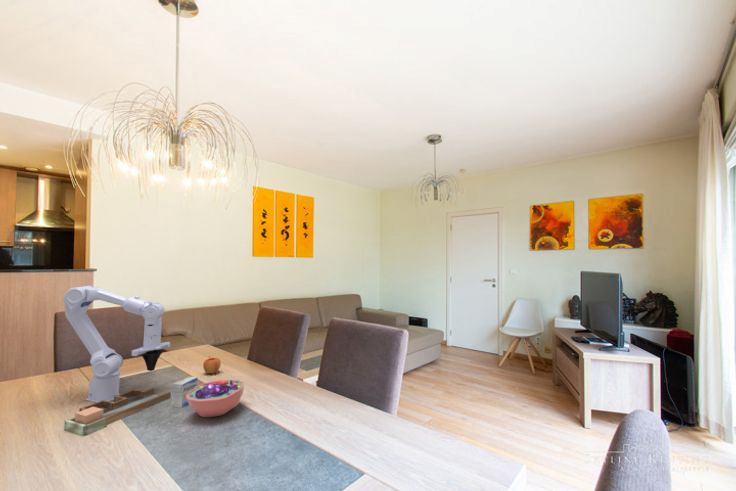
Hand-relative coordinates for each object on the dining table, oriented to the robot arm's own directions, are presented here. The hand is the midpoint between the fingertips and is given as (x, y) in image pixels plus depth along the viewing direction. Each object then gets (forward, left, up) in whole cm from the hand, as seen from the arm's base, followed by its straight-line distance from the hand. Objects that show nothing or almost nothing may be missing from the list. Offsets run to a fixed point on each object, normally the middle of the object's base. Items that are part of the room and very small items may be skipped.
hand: (150, 370), depth 130 cm
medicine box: (+18, 0, -10) cm, 21 cm away
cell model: (+34, -1, -10) cm, 36 cm away
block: (+5, -24, -9) cm, 26 cm away
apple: (+2, +29, -10) cm, 31 cm away
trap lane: (+2, -13, -10) cm, 17 cm away
